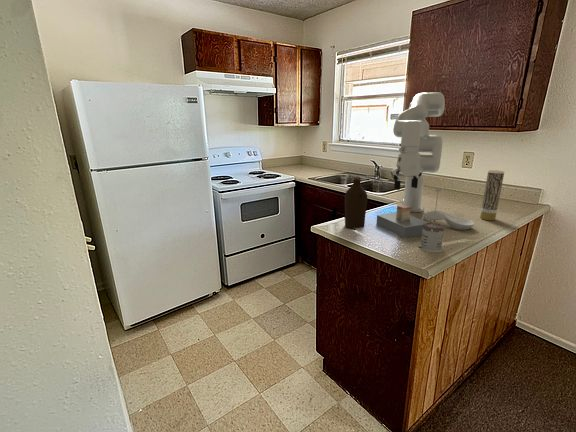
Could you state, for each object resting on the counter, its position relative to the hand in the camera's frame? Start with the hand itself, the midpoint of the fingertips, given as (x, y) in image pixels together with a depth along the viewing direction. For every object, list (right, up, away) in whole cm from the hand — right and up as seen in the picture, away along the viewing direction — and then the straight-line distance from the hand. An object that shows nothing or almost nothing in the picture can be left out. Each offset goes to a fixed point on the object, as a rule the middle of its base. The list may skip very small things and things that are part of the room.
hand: (405, 188), depth 141 cm
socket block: (0, -20, +6) cm, 21 cm away
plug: (0, -19, +6) cm, 20 cm away
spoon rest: (+25, -18, +12) cm, 33 cm away
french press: (+6, -25, -12) cm, 29 cm away
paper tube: (+51, -14, +22) cm, 57 cm away
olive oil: (-20, -18, +13) cm, 30 cm away
